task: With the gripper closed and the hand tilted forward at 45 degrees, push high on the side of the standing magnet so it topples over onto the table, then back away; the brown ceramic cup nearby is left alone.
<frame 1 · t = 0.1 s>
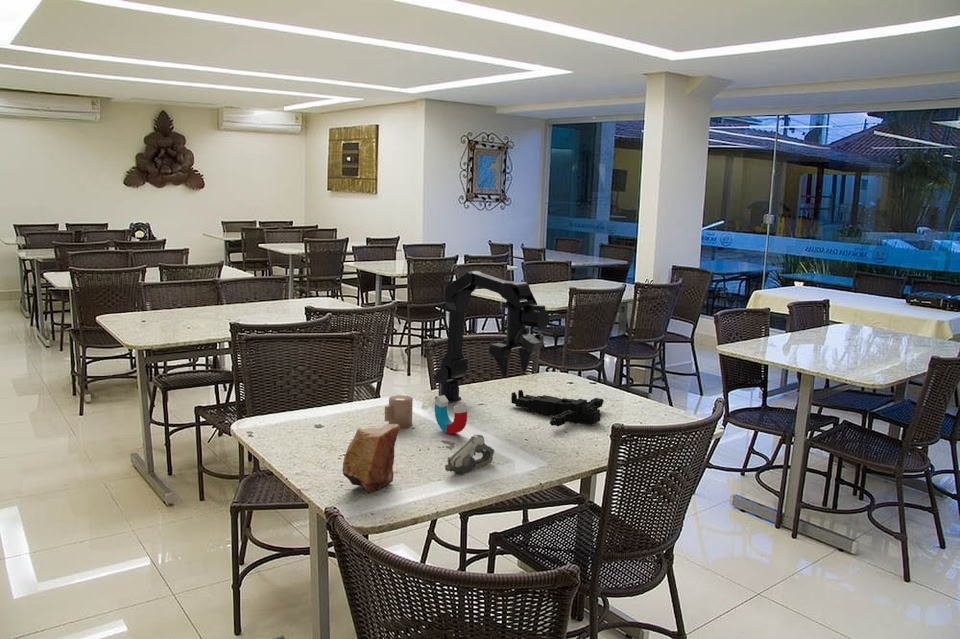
hand: (514, 373, 223), 15 cm above the table, tool pointing down, fingers open, 9 cm apart
stone: (371, 488, 173), on the table
cup: (400, 424, 218), on the table
magnet: (450, 433, 212), on the table
toy: (554, 416, 233), on the table
futuristic pistol: (469, 470, 186), on the table
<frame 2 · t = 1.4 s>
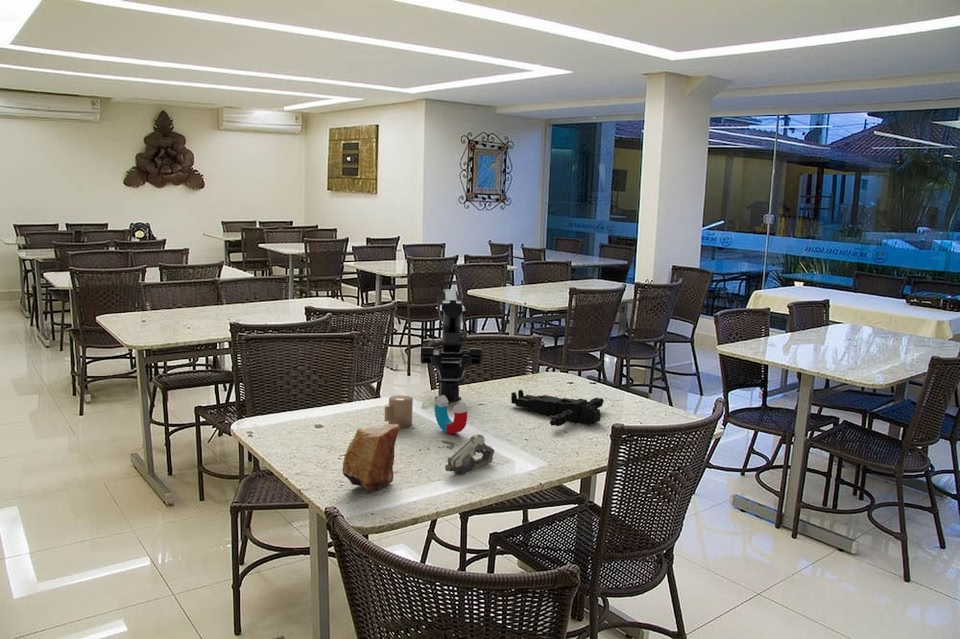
hand: (451, 380, 218), 14 cm above the table, tool tilted 45°, fingers open, 5 cm apart
nothing on the table moved.
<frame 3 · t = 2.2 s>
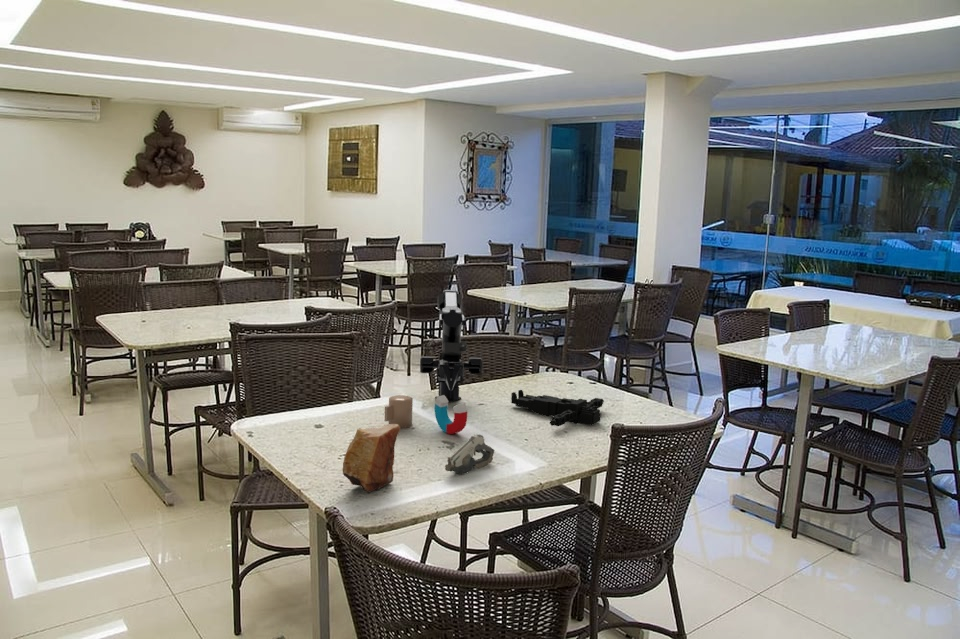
hand: (450, 389, 217), 11 cm above the table, tool tilted 45°, fingers closed
nothing on the table moved.
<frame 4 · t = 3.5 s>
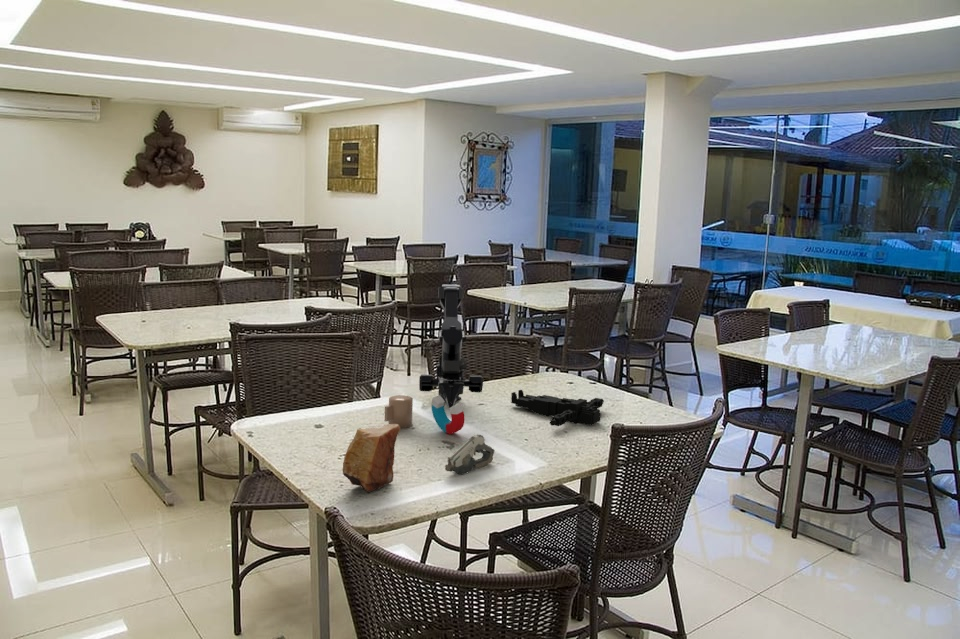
hand: (450, 408, 212), 7 cm above the table, tool tilted 45°, fingers closed
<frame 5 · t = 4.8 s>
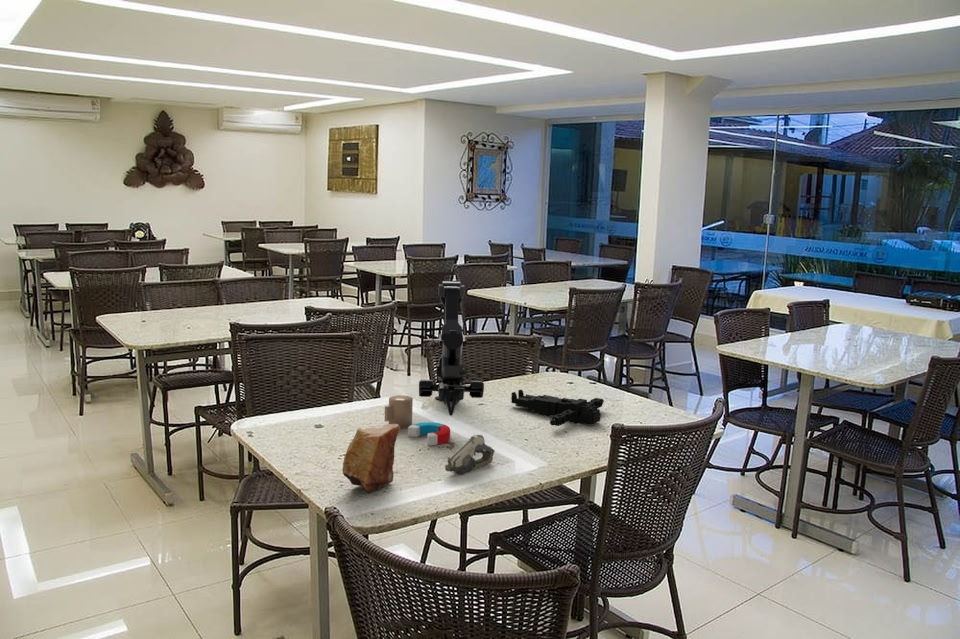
hand: (451, 415, 207), 7 cm above the table, tool tilted 45°, fingers closed
magnet: (446, 429, 211), point 1 cm above the table
everything else where it was.
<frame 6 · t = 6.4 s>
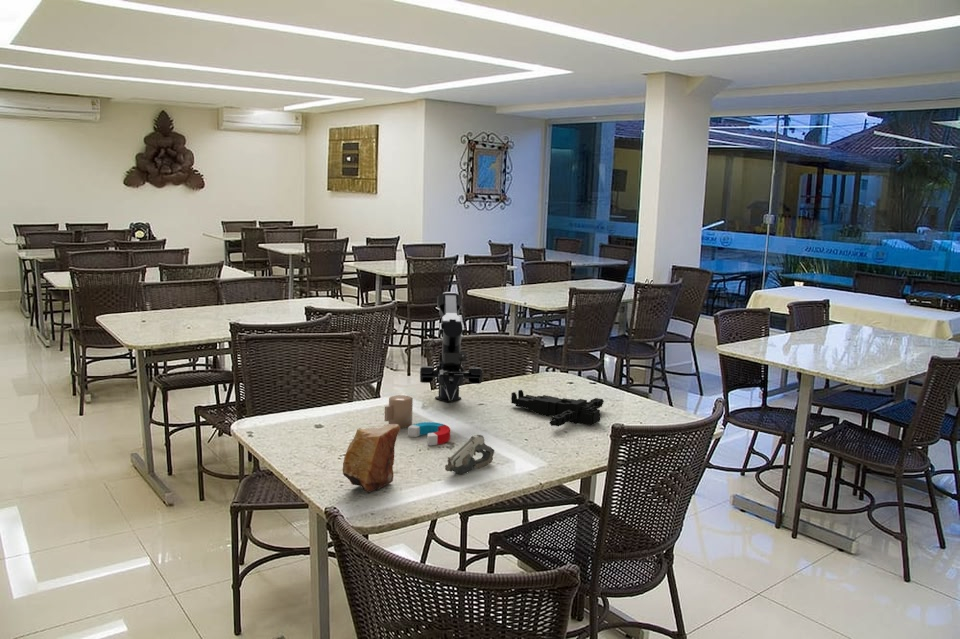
hand: (450, 399, 217), 8 cm above the table, tool tilted 45°, fingers closed
nothing on the table moved.
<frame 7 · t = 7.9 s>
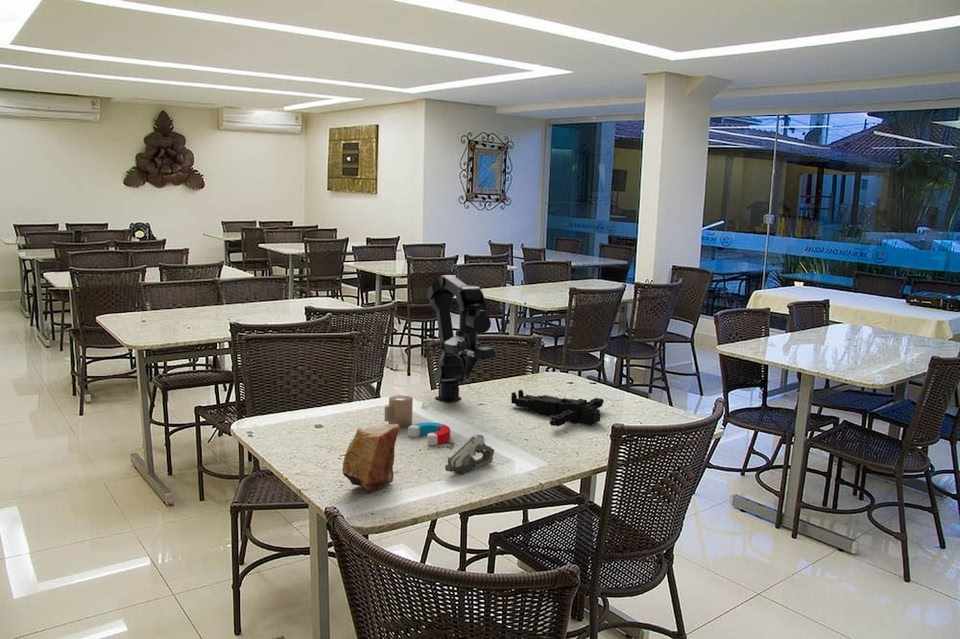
hand: (466, 375, 229), 12 cm above the table, tool pointing down, fingers closed
nothing on the table moved.
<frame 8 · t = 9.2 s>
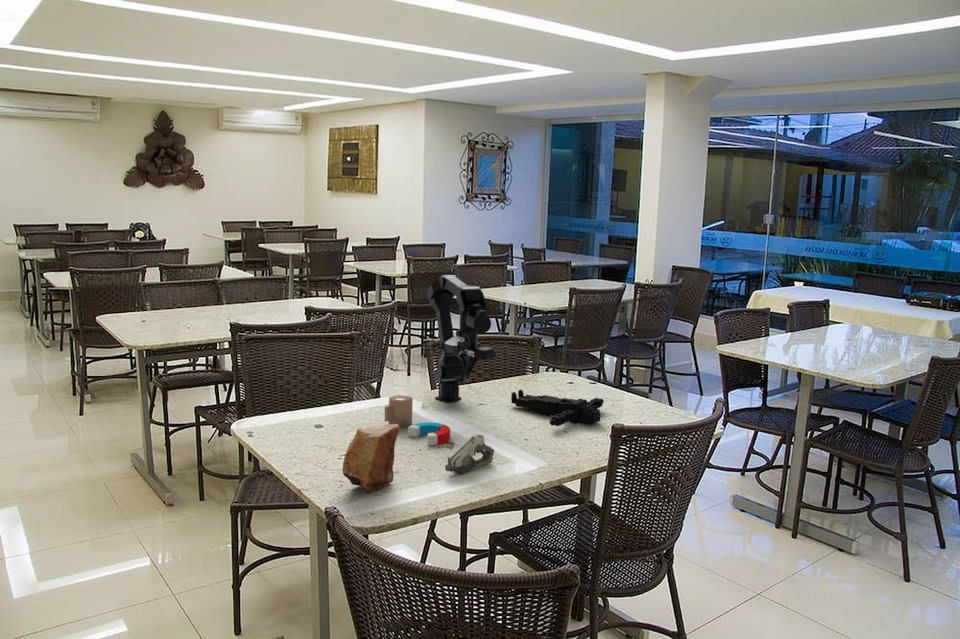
hand: (467, 375, 229), 12 cm above the table, tool pointing down, fingers closed
nothing on the table moved.
at the end: magnet tilted 90°; magnet inside the target area (4.1 cm from its centre), point 1.4 cm above the table; the gripper is holding nothing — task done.
